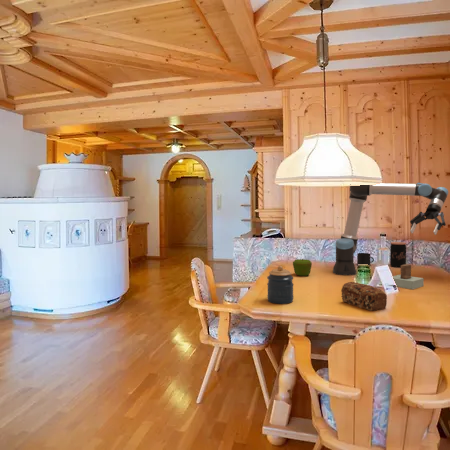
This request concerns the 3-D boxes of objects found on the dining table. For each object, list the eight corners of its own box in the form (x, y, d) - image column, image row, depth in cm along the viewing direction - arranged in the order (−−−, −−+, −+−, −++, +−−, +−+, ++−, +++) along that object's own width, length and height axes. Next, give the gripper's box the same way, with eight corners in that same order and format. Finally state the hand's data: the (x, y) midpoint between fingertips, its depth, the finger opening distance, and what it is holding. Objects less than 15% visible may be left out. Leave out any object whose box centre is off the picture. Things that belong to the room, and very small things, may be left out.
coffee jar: (390, 267, 265) (390, 243, 263) (389, 264, 274) (390, 241, 273) (406, 268, 260) (407, 243, 259) (405, 265, 270) (405, 242, 269)
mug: (373, 267, 267) (373, 255, 266) (356, 265, 272) (356, 254, 272) (374, 265, 275) (374, 253, 274) (358, 264, 281) (358, 252, 280)
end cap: (388, 285, 209) (388, 277, 208) (399, 281, 216) (399, 274, 216) (412, 289, 198) (412, 281, 197) (423, 286, 205) (423, 278, 205)
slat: (400, 285, 206) (400, 265, 206) (405, 284, 210) (406, 264, 209) (405, 286, 204) (405, 266, 203) (410, 285, 208) (411, 264, 207)
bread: (340, 302, 175) (340, 282, 175) (356, 299, 180) (356, 279, 179) (371, 312, 159) (371, 290, 158) (388, 308, 163) (388, 287, 163)
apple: (289, 274, 244) (289, 257, 243) (305, 273, 248) (305, 256, 247) (298, 277, 232) (298, 260, 232) (315, 276, 236) (315, 259, 235)
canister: (293, 297, 184) (293, 264, 183) (293, 304, 171) (293, 268, 170) (268, 296, 187) (268, 263, 185) (265, 303, 174) (265, 267, 173)
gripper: (458, 211, 216) (447, 238, 209) (416, 211, 237) (404, 235, 229) (454, 203, 213) (443, 229, 205) (412, 203, 233) (400, 227, 225)
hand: (422, 232), depth 217 cm, fingers open, 13 cm apart
